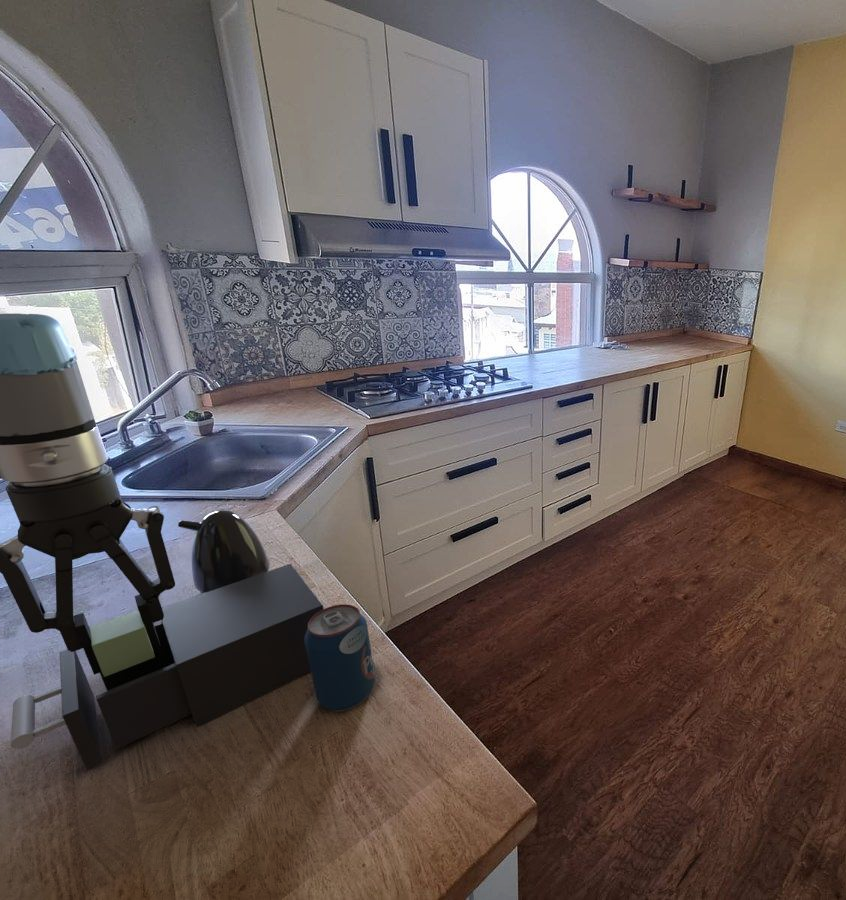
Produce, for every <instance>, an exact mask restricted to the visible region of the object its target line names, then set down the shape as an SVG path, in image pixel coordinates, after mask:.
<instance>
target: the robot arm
mask: <svg viewBox="0 0 846 900" xmlns="http://www.w3.org/2000/svg"><path fill="white" fill-rule="evenodd" d="M77 360H78V358H77V354H76V352H75V350H74V348H73V347H72V346H71V344H70V342H69V339H68V337H67V334H66V332H65V330H64V327H63V325H62V323H61V322H60V321H58V320H57V318H55V317H52V316H50V315H47V314H41V313H0V479H1V480H3V481H6V482H8V484H7V485H6V486H5V491H6V493H7V496H8V499H9V501H10V503H11V505H12V507H13V510H14V512H15V515H16V517H17V519H18V522H19V528H18V529H17V535H15V536H13V537H12V538H9V539H8V540H5V541H4V542H2V543H0V574H2V576H3V579H4V580H5V583H6V584H7V587H8V589H9V591H10V593H11V595H12V597H13V599H14V601H15V603H16V605H17V607H18V609H19V611H20V614H21V616H22V617H23V619H24V621H25V624H26V625H27V628H28V629H29V631H30V632H31V633H35V634H38V633H42V632H44V631H45V630H57V631H59V633H60V636H61V638H62V640H63V642H64V645H65V647H66V650H69V651H71V652H74V651H76V652H77V651H80V650H83V651H84V654H85V657H86V658H87V661H88V663H89V666H90V668H91V671H92V673H93V676H95V675H97V674H100V672H102V671H101V668H100V666H99V663H98V661H97V658H96V656H95V653H94V651H93V648H92V644H91V642H92V641H91V633H90V628H89V627H90V625H89V623H88V621H87V618H86V616H85V613H84V612H81V613H77V614H75V615H74V583H73V582H74V578H73V577H74V575H73V569H74V568H73V561H75V560H78V559H81V558H83V557H85V556H87V555H90V554H101V553H105V554H106V555H107V556H108V558H110V559H111V560H112V562H114V564H116V566H117V567H118V569H119V570H120V571H121V573H122V574H123V575H124V576H125V578H126V579H127V580H128V581H129V582H130V584H131V585H132V587H133V588H134V589H135V590H136V591H137V593H138V594H137V595H134V600H135V604H136V607H137V610H139V613H140V616H141V619H142V622H143V624H144V625H145V628H146V631H147V634H148V637H149V640H150V643H151V646H152V648H153V651H157V650H160V649H161V646H160V642H159V639H158V636H157V633H156V630H155V627H154V623H157V622H159V621H161V620H163V618H164V613H163V610H162V608H163V607H162V605H161V601H160V595H161V594H162V593H163V592H165V591H169V590H172V589H173V588H175V587H176V581H175V577H174V574H173V570H172V567H171V563H170V560H169V557H168V552H167V549H166V545H165V542H164V537H163V535H162V529H163V526H164V525H163V524H164V521H165V520H164V519H165V515H164V514H163V511H162V509H161V507H160V506H158V505H152V506H149V507H148V508H132V507H131V506H130V505H129V504H128V503H127V502H125V500H123V499H122V496H121V493H120V489H119V486H118V484H117V481H116V477H115V474H114V471H113V469H112V466H109V465H108V464H105V463H107V461H108V459H109V456H108V453H107V451H106V448H105V445H104V441H103V439H102V436H101V435H102V434H101V432H100V430H99V426H98V424H97V423H96V420H95V417H94V413H93V410H92V407H91V403H90V400H89V396H88V394H87V390H86V388H85V387H86V386H85V384H84V381H83V377H82V374H81V371H80V368H79V364H78V362H77ZM131 521H135V522H136V524H137V527H138V528H139V529H142V530H144V531H145V536H146V539H147V543H148V545H149V549H150V553H151V557H152V560H153V563H154V566H155V569H156V573H157V576H158V577H156V578H155V579H153V580H151V579H150V577H149V576H148V574H146V572H145V571H144V570H143V568H142V566H140V564H139V563H138V562H137V560H136V559H135V558H134V556H133V555H132V553H130V551H129V550H128V548H127V547H126V546H125V544H124V543H123V541H122V540H121V537H122V536H123V534H124V532H125V530H126V529H127V527H128V526H129V524H130V522H131ZM25 547H29V548H31V549H32V550H35V551H38V552H40V553H43V554H44V555H47V556H50V557H53V558H54V569H55V608H56V611H48V612H47V611H46V609H45V606H44V605H43V603H42V601H41V598H40V597H39V594H38V592H37V590H36V588H35V585H34V583H33V582H32V579H31V577H30V574H29V573H28V571H27V569H26V566H25V564H24V562H23V561H22V560H23V559H24V556H25V550H24V548H25Z"/></svg>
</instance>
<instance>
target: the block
mask: <svg viewBox="0 0 846 900" xmlns="http://www.w3.org/2000/svg"><path fill="white" fill-rule="evenodd" d="M89 628H90V633H91V641H92V642H91V644H92V648H93V651H94V653H95V656H96V658H97V661H98V663H99V666H100V668H101V671H102V673H103V676H104V677H106V676H108V675H111V674H114V673H116V672H119V671H121V670H124V669H126V668H129V667H131V666H134V665H136V664H139V663H142V662H144V661H147V660H149V659H152V658H154V657H155V655H154V651H153V648H152V646H151V643H150V640H149V637H148V634H147V631H146V628H145V625H144V624H143V622H142V619H141V616H140V613H139V610H138V609H137V610H134V611H130V612H127V613H125V614H122V615H119V616H116V617H113V618H110V619H107V620H104V621H102V622H98V623H95V624H92V625H89Z"/></svg>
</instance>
